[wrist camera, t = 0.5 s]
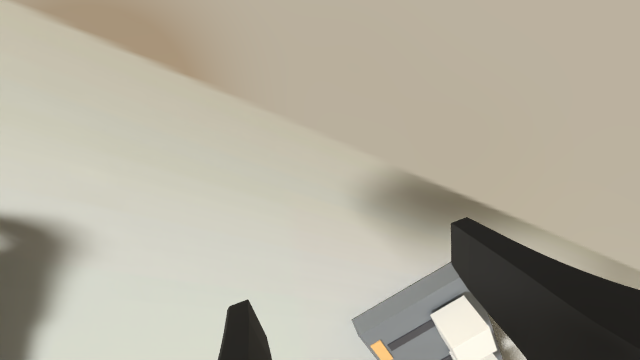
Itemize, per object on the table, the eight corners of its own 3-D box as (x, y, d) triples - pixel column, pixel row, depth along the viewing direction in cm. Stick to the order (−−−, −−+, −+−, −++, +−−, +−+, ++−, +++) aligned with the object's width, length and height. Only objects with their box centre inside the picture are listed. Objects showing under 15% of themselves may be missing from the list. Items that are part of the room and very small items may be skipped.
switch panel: (498, 363, 40) (509, 377, 39) (420, 409, 40) (427, 424, 39) (461, 256, 29) (473, 270, 27) (351, 320, 29) (359, 337, 28)
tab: (472, 318, 30) (497, 350, 28) (441, 336, 30) (462, 370, 28) (463, 295, 28) (489, 327, 26) (430, 314, 28) (452, 348, 26)
